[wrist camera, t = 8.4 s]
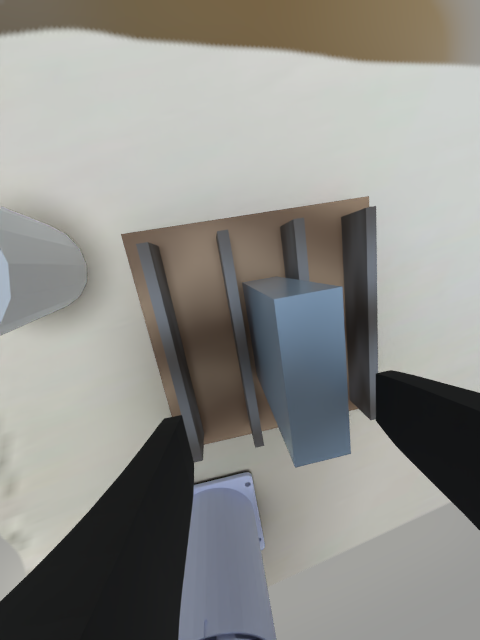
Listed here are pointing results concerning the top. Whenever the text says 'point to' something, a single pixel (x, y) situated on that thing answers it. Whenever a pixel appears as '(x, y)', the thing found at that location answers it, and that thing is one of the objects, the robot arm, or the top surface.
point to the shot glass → (36, 270)
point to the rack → (230, 309)
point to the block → (302, 363)
